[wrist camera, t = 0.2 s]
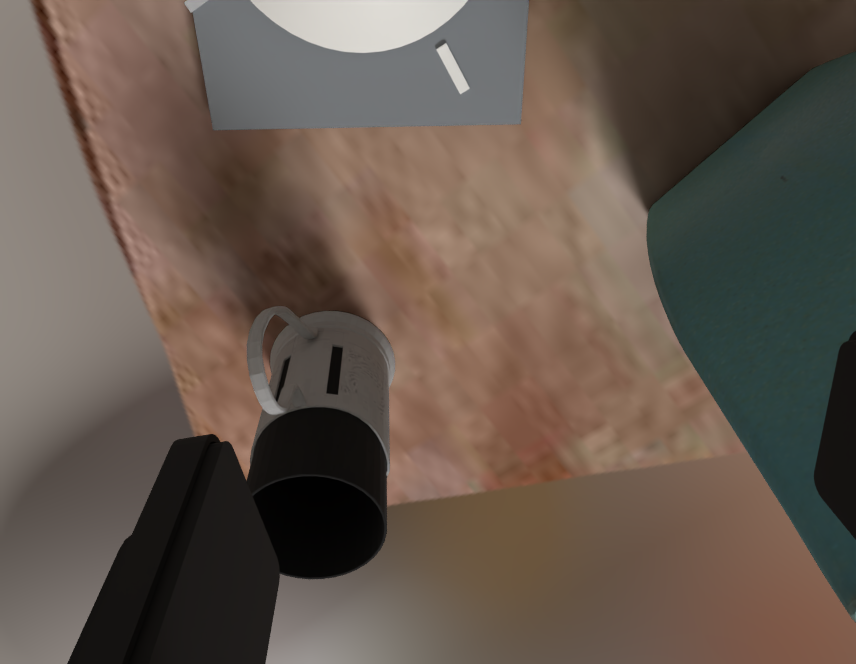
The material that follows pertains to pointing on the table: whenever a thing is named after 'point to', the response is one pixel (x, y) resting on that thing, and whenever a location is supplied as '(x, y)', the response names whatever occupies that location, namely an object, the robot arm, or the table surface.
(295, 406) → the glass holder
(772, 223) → the flower pot
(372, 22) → the white round dome
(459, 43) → the stand
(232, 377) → the table surface
